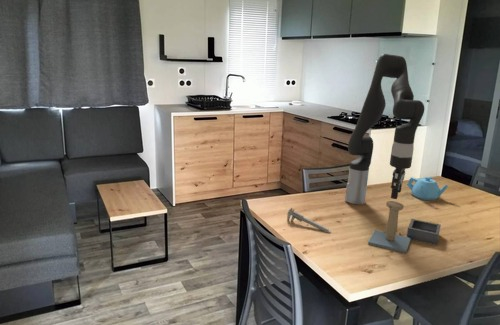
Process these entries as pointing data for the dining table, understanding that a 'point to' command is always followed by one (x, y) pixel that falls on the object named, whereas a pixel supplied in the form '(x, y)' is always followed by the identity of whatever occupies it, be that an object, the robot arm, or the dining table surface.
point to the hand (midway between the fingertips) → (395, 195)
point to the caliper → (305, 220)
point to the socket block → (423, 231)
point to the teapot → (425, 188)
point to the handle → (392, 219)
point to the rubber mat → (381, 241)
